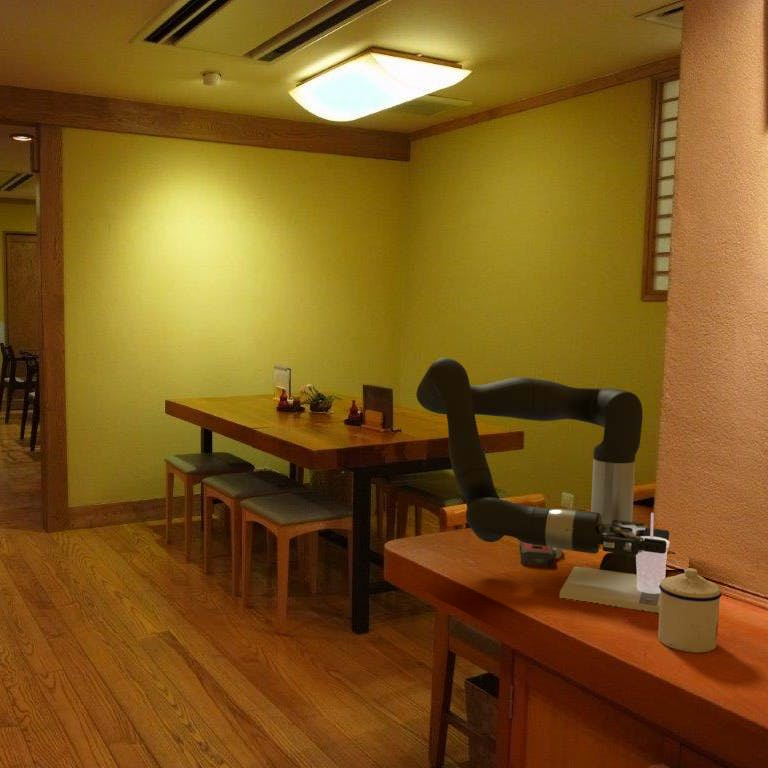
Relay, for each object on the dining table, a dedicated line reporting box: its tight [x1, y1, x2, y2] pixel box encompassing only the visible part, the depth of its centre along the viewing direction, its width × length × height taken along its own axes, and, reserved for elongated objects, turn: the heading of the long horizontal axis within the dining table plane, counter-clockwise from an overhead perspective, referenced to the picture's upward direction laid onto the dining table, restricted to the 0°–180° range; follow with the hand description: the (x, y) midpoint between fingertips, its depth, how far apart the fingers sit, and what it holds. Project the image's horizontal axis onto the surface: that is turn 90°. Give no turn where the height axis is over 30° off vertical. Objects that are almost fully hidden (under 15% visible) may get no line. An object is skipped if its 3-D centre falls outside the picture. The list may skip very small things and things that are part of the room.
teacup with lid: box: [657, 567, 722, 654], centre depth 131 cm, size 12×9×12 cm
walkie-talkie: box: [519, 540, 563, 567], centre depth 176 cm, size 9×4×20 cm
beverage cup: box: [636, 512, 671, 594], centre depth 150 cm, size 6×6×14 cm
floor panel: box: [559, 565, 660, 614], centre depth 152 cm, size 16×24×2 cm, turn 68°
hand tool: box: [599, 552, 637, 574], centre depth 165 cm, size 19×4×5 cm, turn 103°
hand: (667, 541), depth 149 cm, fingers open, 6 cm apart
